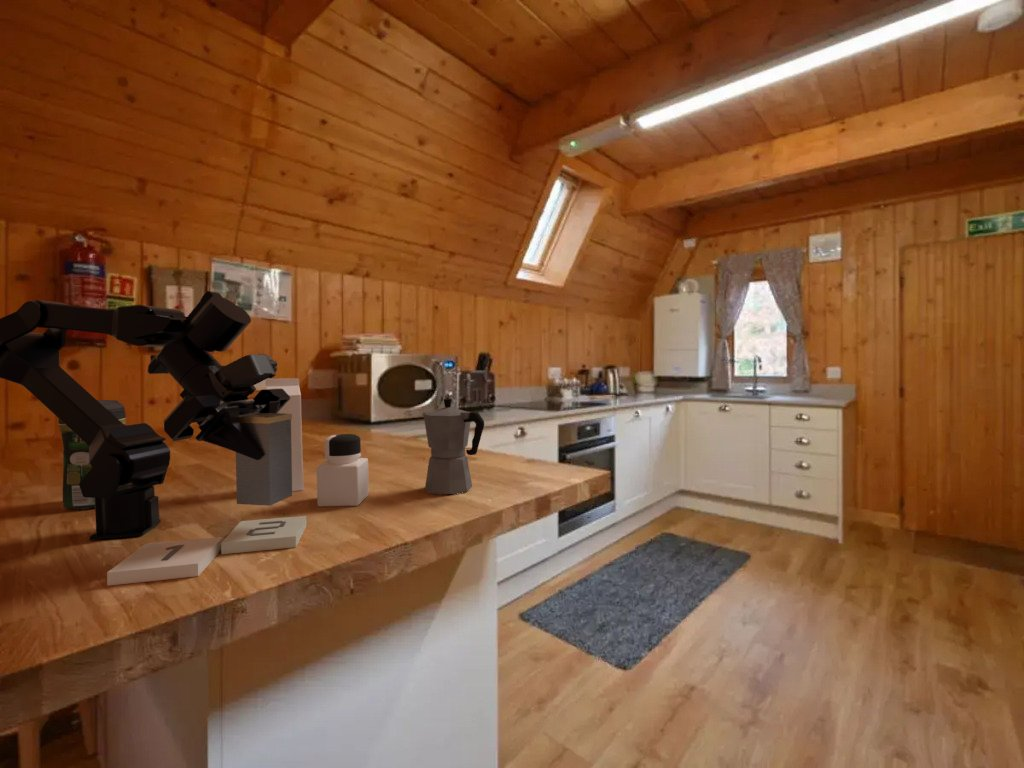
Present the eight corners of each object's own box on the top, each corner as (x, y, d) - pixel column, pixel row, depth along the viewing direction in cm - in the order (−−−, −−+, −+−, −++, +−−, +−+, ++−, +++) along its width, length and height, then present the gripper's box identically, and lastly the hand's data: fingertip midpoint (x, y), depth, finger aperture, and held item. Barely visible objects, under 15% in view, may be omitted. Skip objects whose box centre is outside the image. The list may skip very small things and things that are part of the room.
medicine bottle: (369, 495, 90) (368, 431, 90) (358, 506, 83) (357, 437, 83) (331, 495, 90) (329, 432, 90) (316, 507, 83) (315, 438, 83)
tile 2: (221, 554, 62) (221, 542, 62) (241, 531, 71) (241, 520, 71) (296, 547, 65) (295, 535, 65) (306, 525, 73) (306, 515, 73)
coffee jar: (90, 496, 90) (85, 398, 90) (137, 494, 92) (133, 397, 91) (51, 512, 81) (46, 402, 80) (105, 509, 82) (100, 401, 82)
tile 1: (107, 585, 54) (106, 571, 54) (146, 554, 62) (145, 542, 62) (198, 576, 56) (197, 562, 56) (223, 547, 65) (222, 536, 65)
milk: (267, 488, 96) (264, 378, 95) (300, 483, 99) (297, 377, 98) (269, 494, 91) (265, 379, 90) (304, 490, 94) (300, 378, 93)
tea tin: (235, 504, 66) (233, 416, 65) (260, 493, 71) (259, 412, 70) (270, 505, 65) (268, 417, 64) (293, 495, 70) (291, 413, 69)
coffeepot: (407, 489, 94) (406, 398, 93) (440, 479, 102) (439, 395, 101) (467, 502, 86) (466, 401, 85) (499, 490, 93) (498, 398, 92)
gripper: (181, 330, 58) (267, 422, 57) (277, 337, 77) (343, 408, 75) (126, 394, 60) (209, 485, 58) (234, 386, 78) (298, 456, 77)
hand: (273, 453), depth 67 cm, fingers closed on tea tin, 5 cm apart
